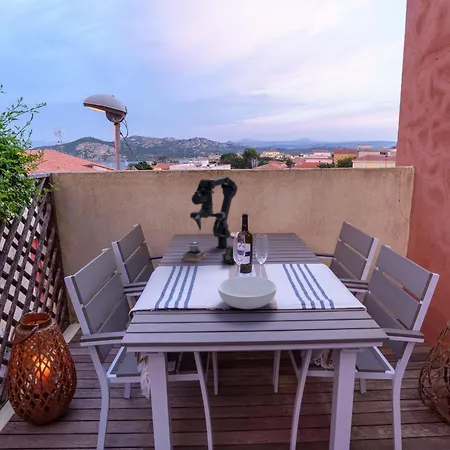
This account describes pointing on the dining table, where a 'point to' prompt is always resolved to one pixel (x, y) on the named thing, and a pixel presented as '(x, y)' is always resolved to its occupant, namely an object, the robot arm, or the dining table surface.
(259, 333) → the dining table surface
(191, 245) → the lens
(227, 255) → the night vision scope
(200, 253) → the mount
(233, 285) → the serving bowl
